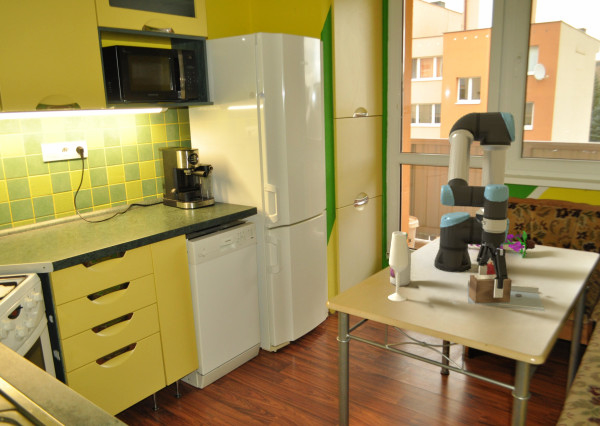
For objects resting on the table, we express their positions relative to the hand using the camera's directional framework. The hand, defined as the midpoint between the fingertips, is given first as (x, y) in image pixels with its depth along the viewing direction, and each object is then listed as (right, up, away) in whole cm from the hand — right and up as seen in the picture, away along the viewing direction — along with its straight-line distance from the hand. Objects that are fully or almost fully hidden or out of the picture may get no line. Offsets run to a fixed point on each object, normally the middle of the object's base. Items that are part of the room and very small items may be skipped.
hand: (489, 290), depth 172 cm
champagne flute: (-31, -4, +7) cm, 32 cm away
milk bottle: (-27, -1, +22) cm, 34 cm away
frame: (0, -3, +1) cm, 4 cm away
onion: (+8, 0, +22) cm, 23 cm away
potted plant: (+25, +8, +61) cm, 66 cm away
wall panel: (+6, -4, +3) cm, 8 cm away
